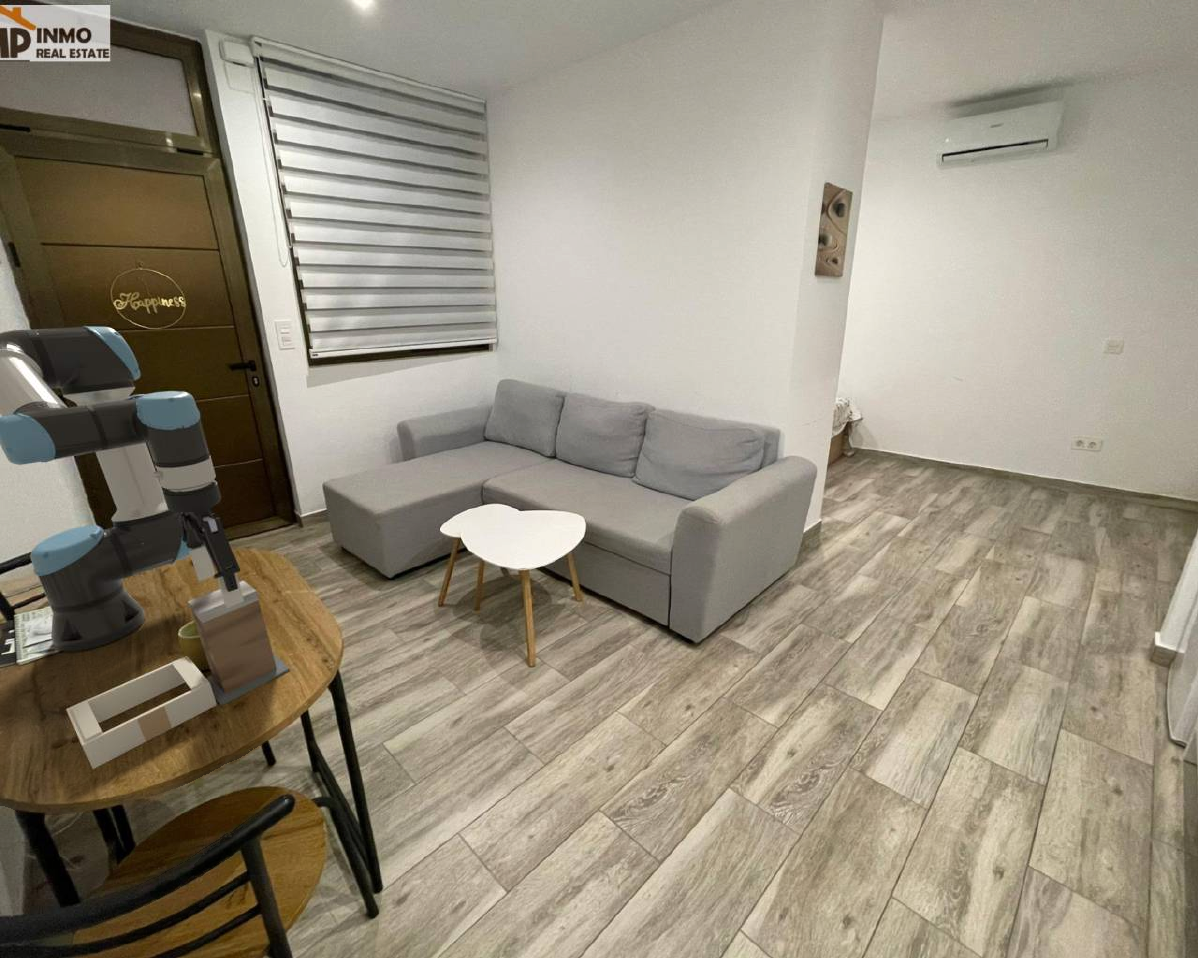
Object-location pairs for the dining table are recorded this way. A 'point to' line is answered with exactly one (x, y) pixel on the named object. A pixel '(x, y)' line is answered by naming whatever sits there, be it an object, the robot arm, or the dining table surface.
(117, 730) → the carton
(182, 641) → the mug
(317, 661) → the dining table surface
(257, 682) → the mat
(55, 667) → the dining table surface
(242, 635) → the walnut box
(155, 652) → the dining table surface
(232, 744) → the dining table surface
